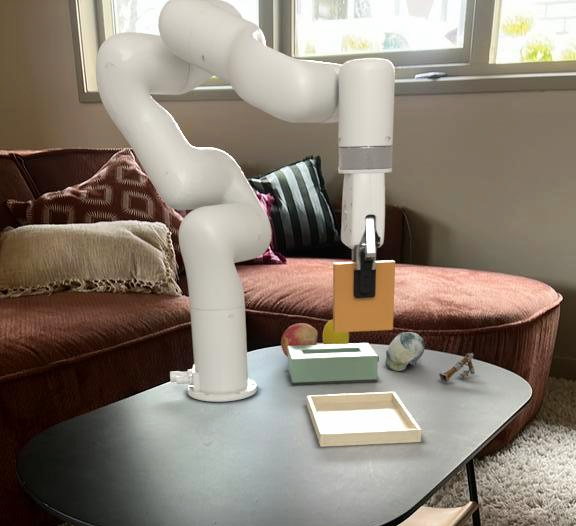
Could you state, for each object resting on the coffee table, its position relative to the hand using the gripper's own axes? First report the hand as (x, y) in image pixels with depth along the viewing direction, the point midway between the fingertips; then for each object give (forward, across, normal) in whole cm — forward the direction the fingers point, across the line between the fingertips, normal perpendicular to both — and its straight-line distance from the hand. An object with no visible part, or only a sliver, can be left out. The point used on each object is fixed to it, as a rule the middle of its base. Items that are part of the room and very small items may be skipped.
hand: (363, 295), depth 114 cm
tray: (+20, +1, 0) cm, 20 cm away
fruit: (+20, -37, -6) cm, 43 cm away
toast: (+5, 0, 0) cm, 5 cm away
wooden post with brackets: (+20, -21, +22) cm, 36 cm away
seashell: (+20, -33, +15) cm, 41 cm away
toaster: (+20, -27, -1) cm, 33 cm away
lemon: (+20, -42, +2) cm, 47 cm away
